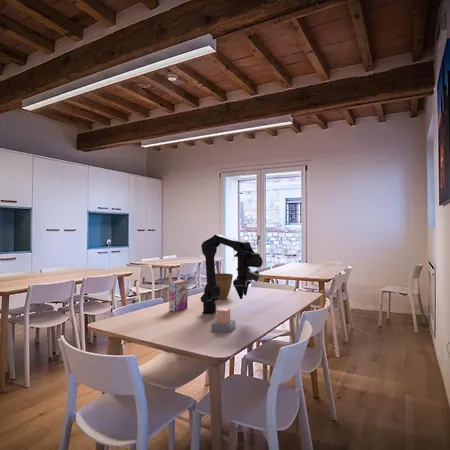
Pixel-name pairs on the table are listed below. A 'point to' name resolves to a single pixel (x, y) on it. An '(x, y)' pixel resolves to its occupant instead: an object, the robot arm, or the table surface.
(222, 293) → the plant pot
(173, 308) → the candy bar box
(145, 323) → the table surface
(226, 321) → the cube
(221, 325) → the plinth
